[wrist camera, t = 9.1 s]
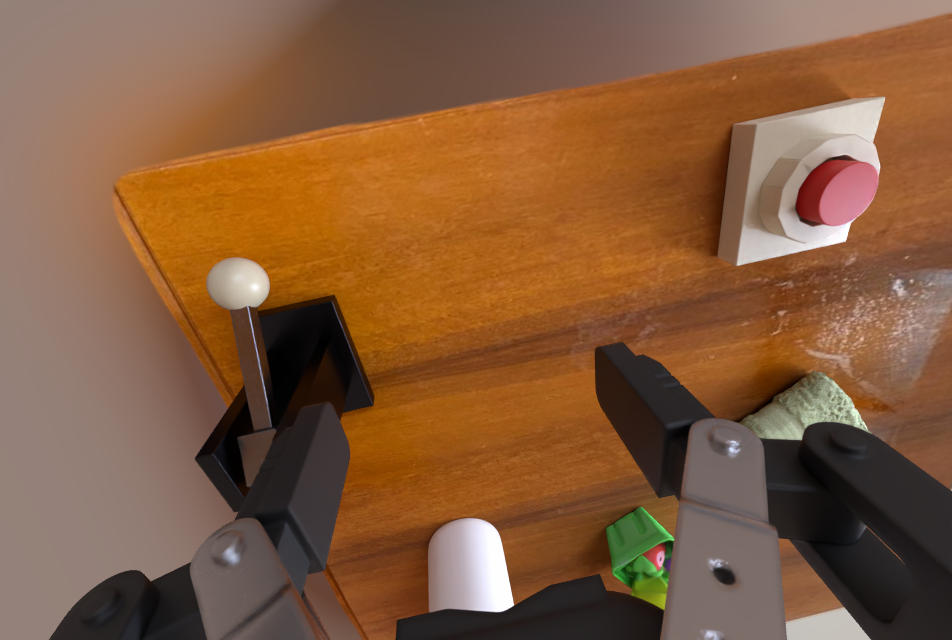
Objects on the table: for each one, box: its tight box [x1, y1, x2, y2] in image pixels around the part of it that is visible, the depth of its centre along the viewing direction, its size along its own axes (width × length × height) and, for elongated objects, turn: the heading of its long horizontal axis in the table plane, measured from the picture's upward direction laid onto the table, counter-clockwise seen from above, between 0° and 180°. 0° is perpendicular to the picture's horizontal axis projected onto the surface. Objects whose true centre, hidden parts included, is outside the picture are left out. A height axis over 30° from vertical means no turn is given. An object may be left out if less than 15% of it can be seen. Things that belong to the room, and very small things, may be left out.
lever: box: [206, 257, 280, 487], centre depth 23 cm, size 13×3×3 cm
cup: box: [428, 518, 514, 613], centre depth 40 cm, size 8×12×10 cm
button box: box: [717, 97, 885, 266], centre depth 28 cm, size 10×9×4 cm
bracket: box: [195, 295, 374, 512], centre depth 26 cm, size 10×7×12 cm
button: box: [796, 160, 879, 226], centre depth 26 cm, size 4×4×2 cm
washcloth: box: [738, 371, 871, 440], centre depth 42 cm, size 13×18×3 cm
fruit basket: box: [606, 507, 674, 610], centre depth 43 cm, size 11×9×11 cm
